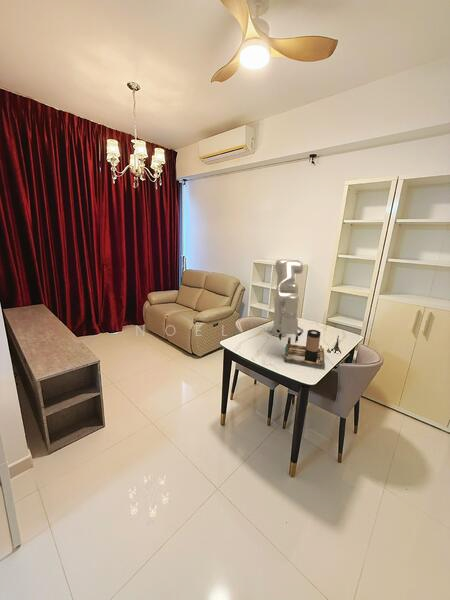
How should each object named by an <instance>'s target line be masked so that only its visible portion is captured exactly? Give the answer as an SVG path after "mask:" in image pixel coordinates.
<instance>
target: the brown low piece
mask: <svg viewBox="0 0 450 600" xmlns="http://www.w3.org/2000/svg"><path fill="white" fill-rule="evenodd" d="M289 355H291V356H297V357H303V358H305V353H303V352H297V351H291V350H289V344H287V343H286V345H285V350H284V359H285V360H291V361H296V362H302V363H307V364H312V365H318V366H322V361H323V359H322V352H320V355H318V356H317V361H318V360H319V362H310V361H305V359H299V358H293V357H288V356H289ZM284 359H283V360H284Z"/></svg>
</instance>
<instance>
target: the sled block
mask: <svg viewBox="0 0 450 600" xmlns="http://www.w3.org/2000/svg"><path fill="white" fill-rule="evenodd" d="M291 339H292V337H288V338H287V343H286V344H289V350H291V351H297V352H303V353H305V348H306V345H300V344H294V343H293V344H292V343H291V342H292V340H291ZM322 348H323V345H320V344H319V350H318V355H320V352H322Z"/></svg>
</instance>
